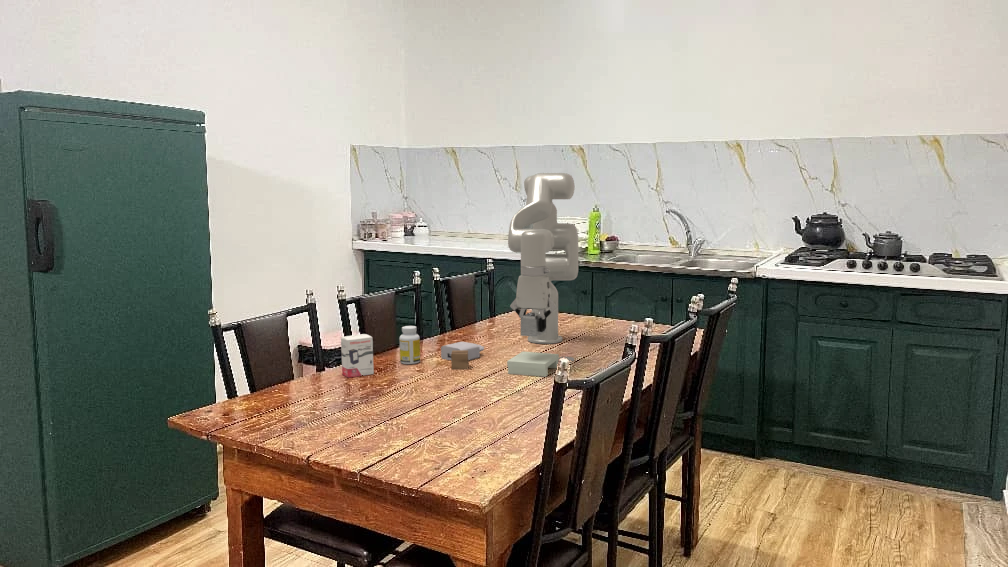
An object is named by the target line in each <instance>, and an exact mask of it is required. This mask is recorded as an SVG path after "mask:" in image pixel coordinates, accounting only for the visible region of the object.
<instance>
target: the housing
mask: <svg viewBox="0 0 1008 567" xmlns="http://www.w3.org/2000/svg"><path fill="white" fill-rule="evenodd" d="M540 319H541V315H540V312H532V311H530V312H526V315H524V316H523V318H520V336H522V337H529V336H533V337H537V336H538V335H540V334H542V333H544V332H546V329H545V331H543V332H540Z"/></svg>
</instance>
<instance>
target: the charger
mask: <svg viewBox="0 0 1008 567" xmlns="http://www.w3.org/2000/svg"><path fill="white" fill-rule="evenodd" d="M457 350H468V361H472V360H475V359H480V354H481V352H482V351H484V350H485V346H482V345H481V344H476V343H473V342H468V341H467V342H466V341H458V342H454V343H448V344H446V345H442V346H441V347H440V357H441V359H442V360H445V359H446V360H445V361H450V360H451V353H452V351H457Z"/></svg>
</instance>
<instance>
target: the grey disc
mask: <svg viewBox="0 0 1008 567" xmlns="http://www.w3.org/2000/svg"><path fill="white" fill-rule="evenodd" d="M563 357H565V358H567V359H568V360H569V361H570V360H571V361H573V362H575V358H574V357H573V356H560V357H559V359H560V358H563ZM559 359H558V360H559Z"/></svg>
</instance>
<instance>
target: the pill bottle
mask: <svg viewBox="0 0 1008 567" xmlns="http://www.w3.org/2000/svg"><path fill="white" fill-rule="evenodd" d="M401 332H402V334H401V335H400V336H399V338H398V340H399V361H400V363H401V364H404V365H415V364H419V363H420V362H421V339H420V335H419V334H418V333H417V326H415V325H405V326H402V327H401Z"/></svg>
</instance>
